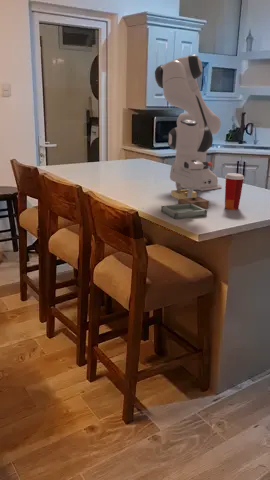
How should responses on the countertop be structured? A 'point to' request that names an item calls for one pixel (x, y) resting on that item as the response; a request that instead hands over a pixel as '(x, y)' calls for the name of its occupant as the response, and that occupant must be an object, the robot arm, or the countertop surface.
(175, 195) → the ring
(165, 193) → the countertop surface
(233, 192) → the coffee cup
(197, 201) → the stake base
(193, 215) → the tray
